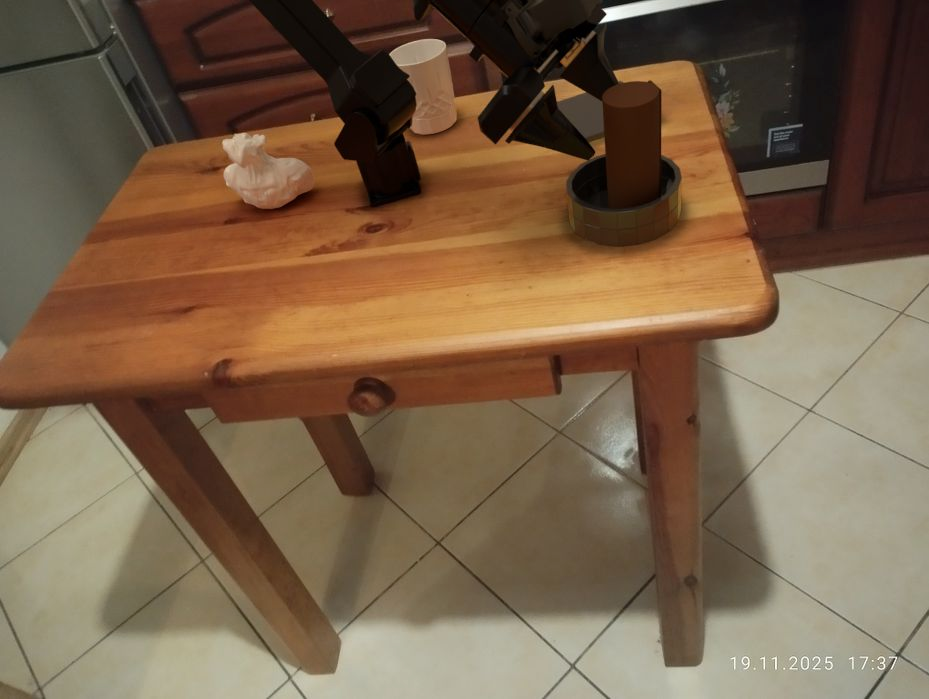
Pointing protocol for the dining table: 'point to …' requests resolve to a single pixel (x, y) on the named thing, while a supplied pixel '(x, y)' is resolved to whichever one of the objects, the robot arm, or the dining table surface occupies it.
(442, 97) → the white cup
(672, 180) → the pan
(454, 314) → the dining table surface
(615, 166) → the brown cylinder
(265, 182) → the white lumpy figure
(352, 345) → the dining table surface
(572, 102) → the plate
